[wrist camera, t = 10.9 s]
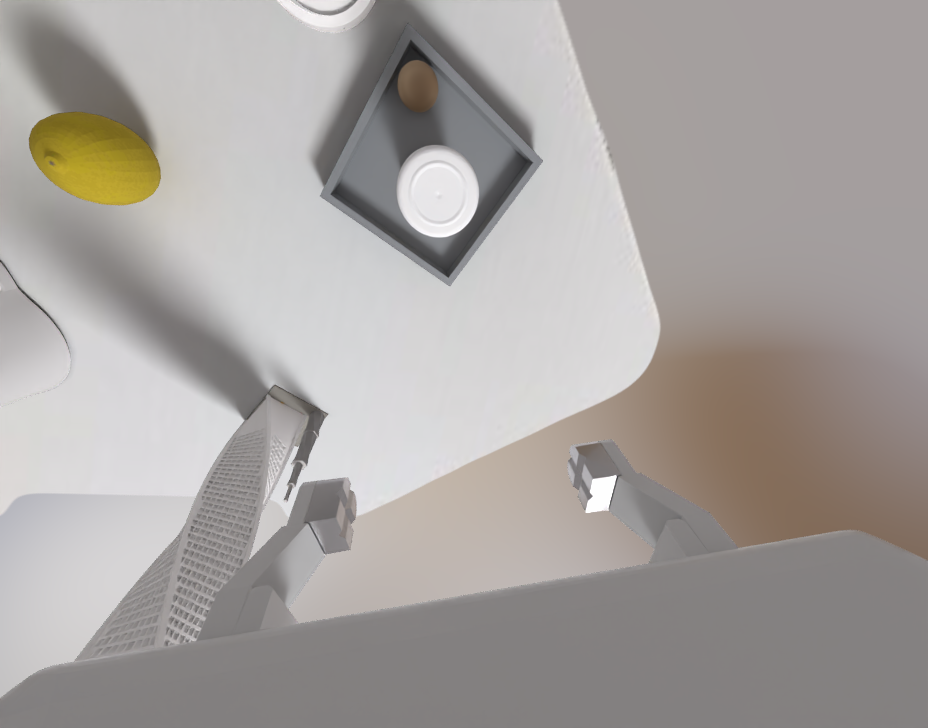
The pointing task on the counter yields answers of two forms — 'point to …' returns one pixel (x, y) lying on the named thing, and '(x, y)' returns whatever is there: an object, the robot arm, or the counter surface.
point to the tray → (404, 131)
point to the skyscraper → (213, 531)
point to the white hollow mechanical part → (329, 13)
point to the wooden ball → (417, 86)
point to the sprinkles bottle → (437, 191)
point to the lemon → (94, 158)
